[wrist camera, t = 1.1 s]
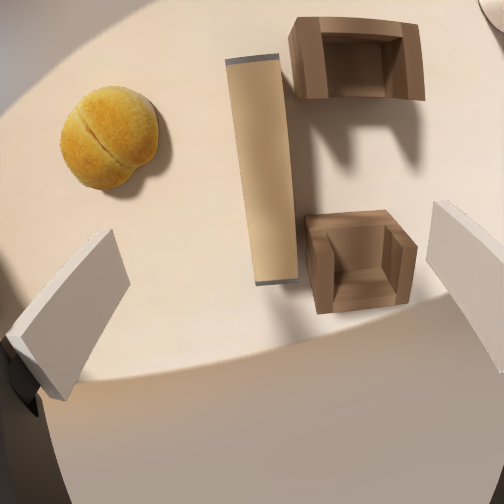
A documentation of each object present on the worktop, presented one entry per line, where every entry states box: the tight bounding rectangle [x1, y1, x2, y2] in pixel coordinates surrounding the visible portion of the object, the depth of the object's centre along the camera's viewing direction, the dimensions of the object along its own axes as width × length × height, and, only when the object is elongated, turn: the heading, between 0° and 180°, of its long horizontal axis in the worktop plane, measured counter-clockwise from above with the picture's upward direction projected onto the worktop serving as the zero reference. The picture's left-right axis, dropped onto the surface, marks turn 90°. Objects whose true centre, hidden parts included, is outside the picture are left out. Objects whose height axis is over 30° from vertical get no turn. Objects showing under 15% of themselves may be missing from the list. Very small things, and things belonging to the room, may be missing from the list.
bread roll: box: [60, 86, 158, 190], centre depth 22 cm, size 8×9×4 cm
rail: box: [225, 54, 298, 286], centre depth 22 cm, size 3×16×6 cm, turn 7°
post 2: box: [305, 210, 418, 314], centre depth 24 cm, size 7×5×7 cm
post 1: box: [288, 17, 425, 101], centre depth 17 cm, size 7×5×7 cm
